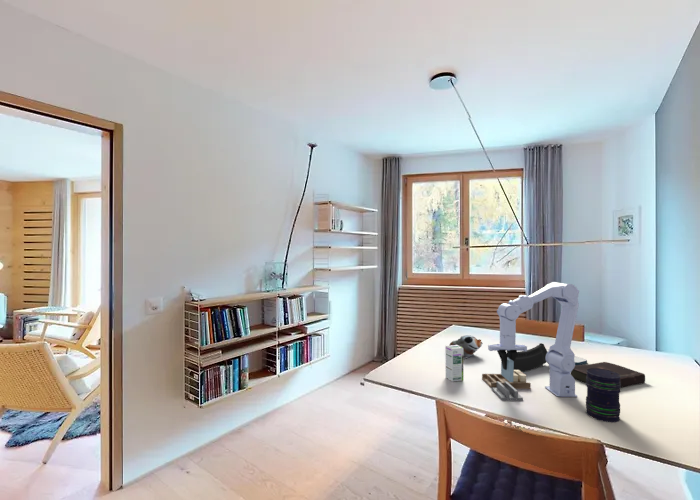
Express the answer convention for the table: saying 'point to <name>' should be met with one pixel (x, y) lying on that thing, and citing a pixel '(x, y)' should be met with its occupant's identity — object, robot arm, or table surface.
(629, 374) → the diary
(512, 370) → the tall board
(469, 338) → the lucky cat figurine
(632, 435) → the table surface
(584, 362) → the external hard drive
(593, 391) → the storage jar
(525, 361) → the magazine
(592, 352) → the table surface
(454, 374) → the syrup box
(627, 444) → the table surface
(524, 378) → the offcut
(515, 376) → the offcut
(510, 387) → the holder
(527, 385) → the rack
